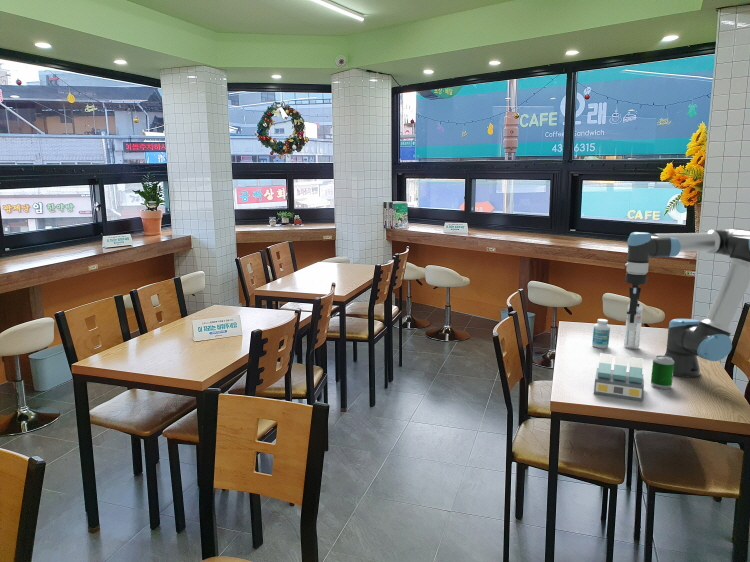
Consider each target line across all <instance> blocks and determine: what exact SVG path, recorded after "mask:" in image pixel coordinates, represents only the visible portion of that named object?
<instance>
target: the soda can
mask: <svg viewBox="0 0 750 562" xmlns="http://www.w3.org/2000/svg"><path fill="white" fill-rule="evenodd" d="M673 370H674V360H673V359H672V358H671V357H668V356H664V355H657V356H656V355H655V357H653V360H652V369H651V376H650V378H651V379H650V384H651V385H652V386H653V388H656V389H660V390H668V389H669V388H671V387H672V385H673V379H674V378H673V377H674V375H673Z"/></svg>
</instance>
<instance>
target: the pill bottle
mask: <svg viewBox="0 0 750 562" xmlns="http://www.w3.org/2000/svg"><path fill="white" fill-rule="evenodd" d="M596 321H597V323H595V324H593V330H592V343H591V345H592V347H594V348H596V347H597V349H607V348H608V347H609V343H610V333H611V326H610V325H609V324H608V322H609V320H608V319H604V318H598V319H597V320H596Z"/></svg>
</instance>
